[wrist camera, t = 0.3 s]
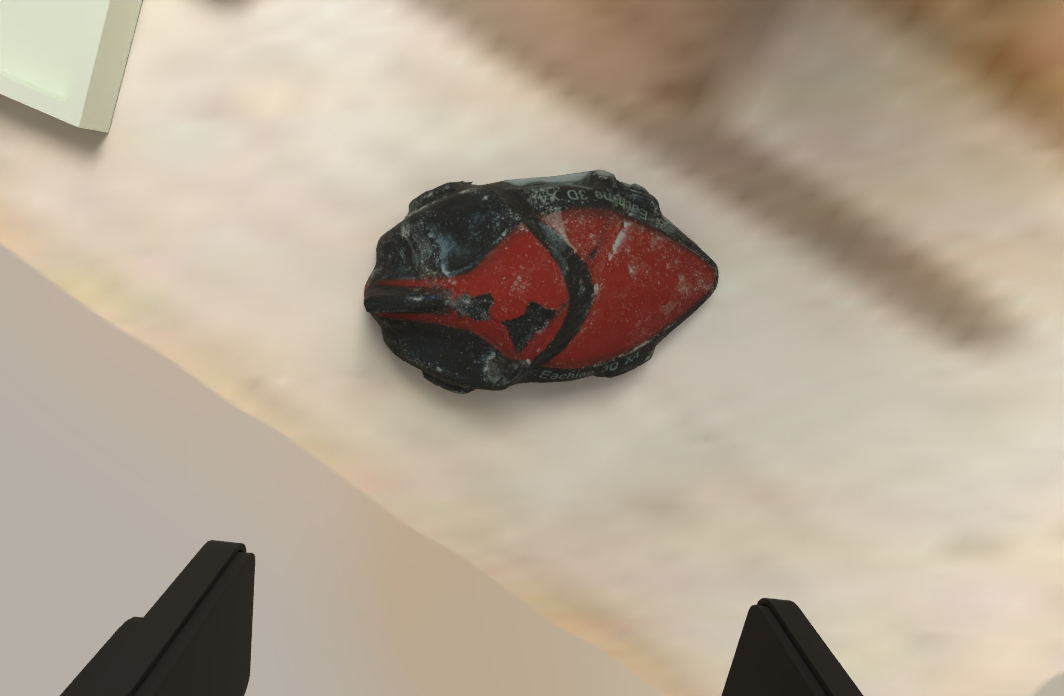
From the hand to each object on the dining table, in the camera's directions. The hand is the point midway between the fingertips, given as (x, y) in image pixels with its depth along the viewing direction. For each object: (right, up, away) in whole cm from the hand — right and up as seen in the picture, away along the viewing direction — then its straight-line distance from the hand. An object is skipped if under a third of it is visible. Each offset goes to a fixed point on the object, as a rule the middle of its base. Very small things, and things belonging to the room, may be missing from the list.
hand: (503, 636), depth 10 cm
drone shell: (+1, +10, +30) cm, 31 cm away
